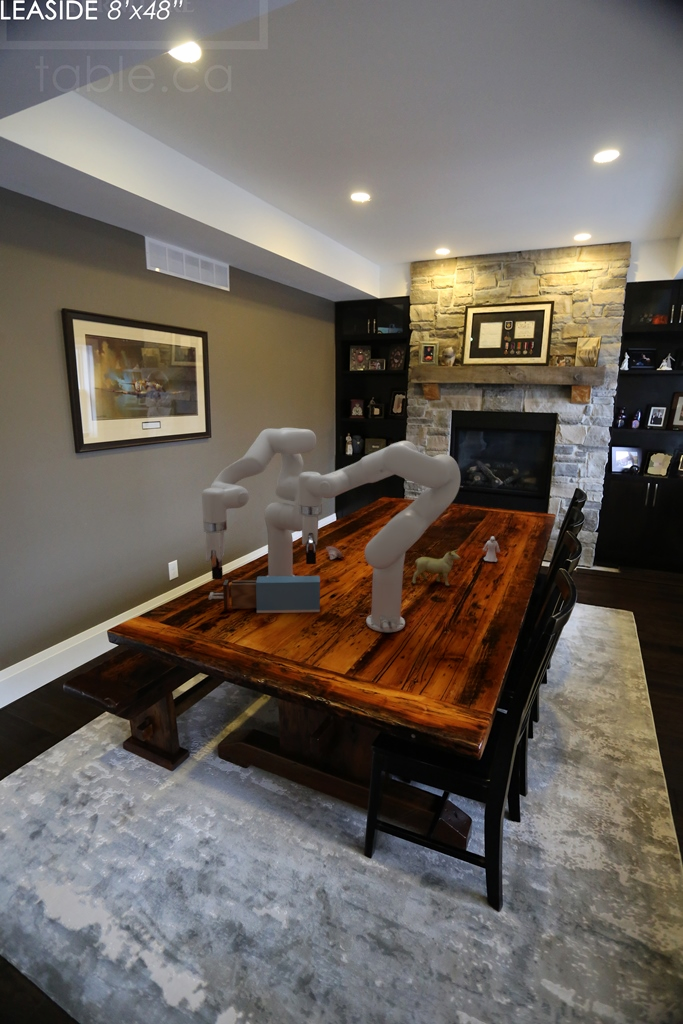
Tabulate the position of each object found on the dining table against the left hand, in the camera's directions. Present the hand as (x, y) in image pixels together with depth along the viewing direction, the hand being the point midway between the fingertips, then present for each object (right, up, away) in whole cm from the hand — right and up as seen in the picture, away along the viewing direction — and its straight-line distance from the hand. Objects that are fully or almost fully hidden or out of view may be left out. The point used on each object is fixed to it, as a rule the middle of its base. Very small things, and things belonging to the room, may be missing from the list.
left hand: (217, 578), depth 168 cm
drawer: (+9, -10, +3) cm, 14 cm away
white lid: (+38, +1, +56) cm, 68 cm away
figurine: (+109, 0, +57) cm, 123 cm away
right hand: (+31, +6, +1) cm, 32 cm away
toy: (+78, -6, +29) cm, 84 cm away
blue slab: (+23, -11, +5) cm, 26 cm away
